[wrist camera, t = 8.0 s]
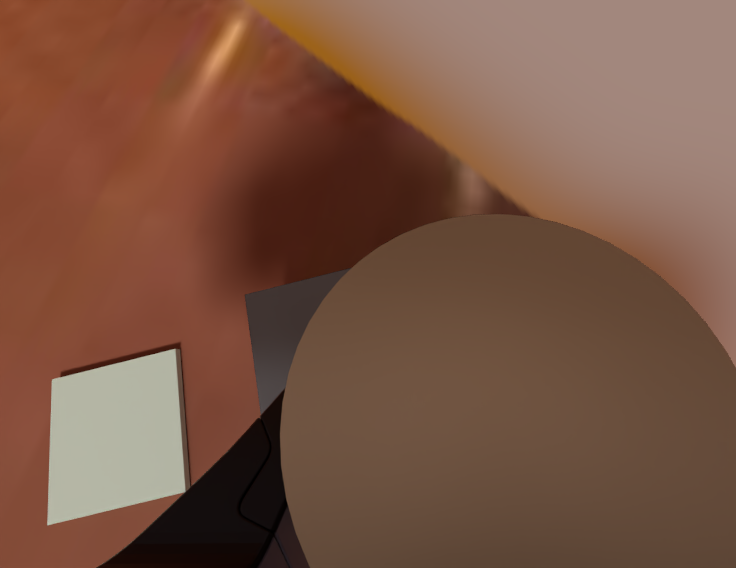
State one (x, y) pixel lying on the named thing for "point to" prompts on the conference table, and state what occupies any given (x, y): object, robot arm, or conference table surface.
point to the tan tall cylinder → (509, 409)
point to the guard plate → (282, 328)
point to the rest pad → (117, 437)
